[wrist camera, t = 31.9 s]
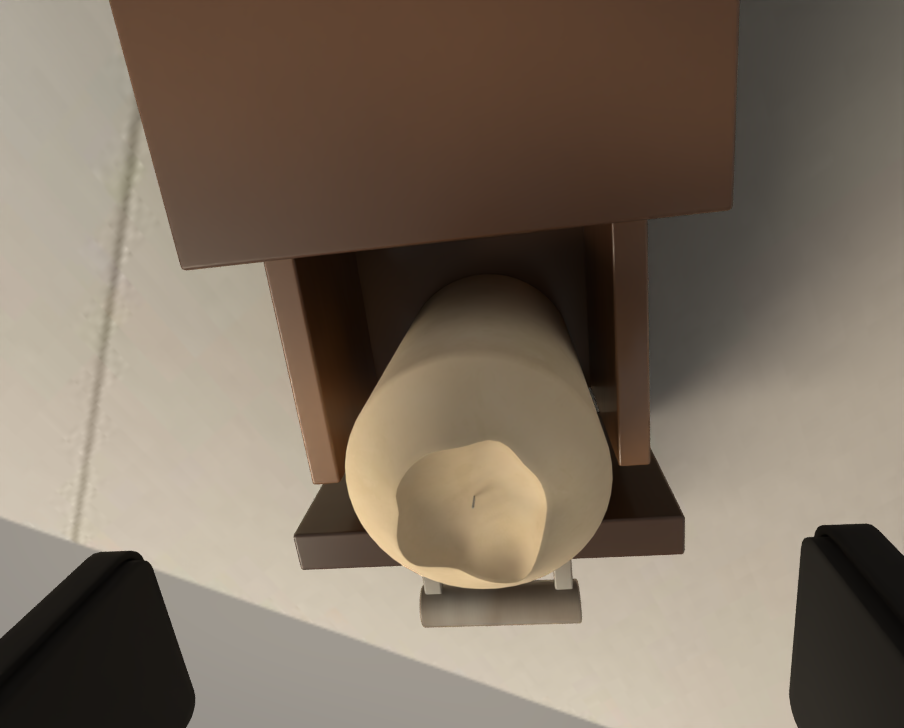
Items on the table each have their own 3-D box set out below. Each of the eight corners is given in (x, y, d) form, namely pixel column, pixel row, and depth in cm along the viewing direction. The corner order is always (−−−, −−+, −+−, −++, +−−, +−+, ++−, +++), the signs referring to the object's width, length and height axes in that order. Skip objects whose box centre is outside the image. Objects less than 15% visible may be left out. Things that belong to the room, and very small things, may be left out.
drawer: (635, 543, 23) (684, 691, 17) (377, 554, 25) (331, 696, 18) (623, 29, 18) (691, -47, 11) (286, 80, 19) (170, 39, 12)
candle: (600, 376, 20) (682, 570, 11) (465, 450, 21) (432, 679, 12) (515, 238, 19) (523, 321, 9) (378, 327, 20) (264, 476, 11)
